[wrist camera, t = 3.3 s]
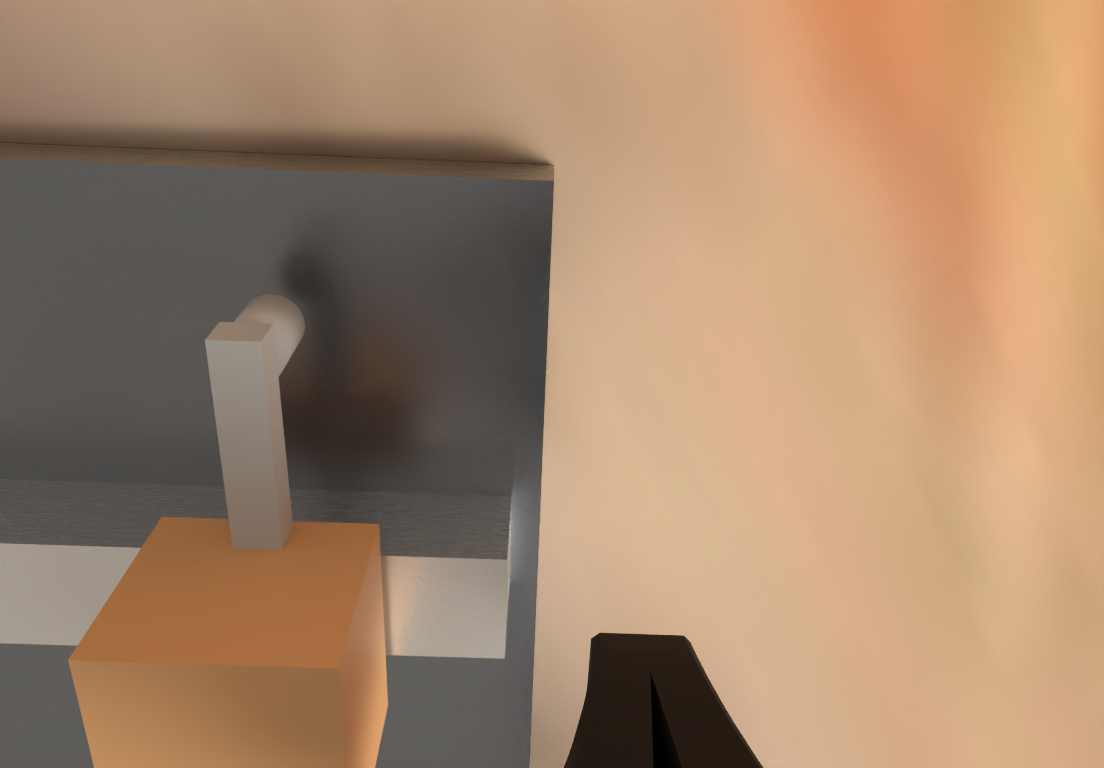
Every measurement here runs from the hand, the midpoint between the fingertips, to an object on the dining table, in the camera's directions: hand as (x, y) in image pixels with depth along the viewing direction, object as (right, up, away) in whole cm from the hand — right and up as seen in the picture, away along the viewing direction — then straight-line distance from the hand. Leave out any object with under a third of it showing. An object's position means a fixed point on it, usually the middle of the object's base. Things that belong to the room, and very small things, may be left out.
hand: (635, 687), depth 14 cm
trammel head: (-5, +3, +1) cm, 6 cm away
